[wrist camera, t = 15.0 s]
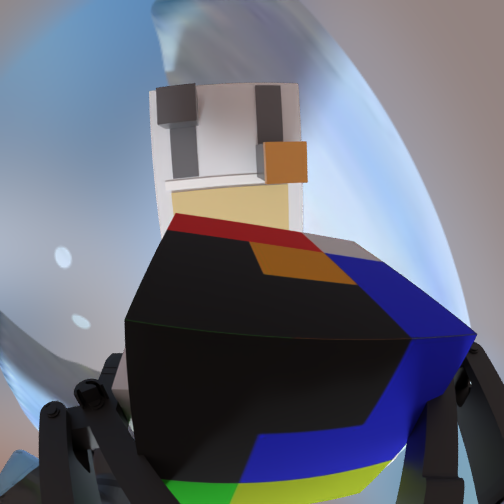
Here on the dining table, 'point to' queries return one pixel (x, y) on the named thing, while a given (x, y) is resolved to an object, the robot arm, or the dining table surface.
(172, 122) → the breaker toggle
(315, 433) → the puzzle toy
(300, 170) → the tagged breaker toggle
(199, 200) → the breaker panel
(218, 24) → the dining table surface
